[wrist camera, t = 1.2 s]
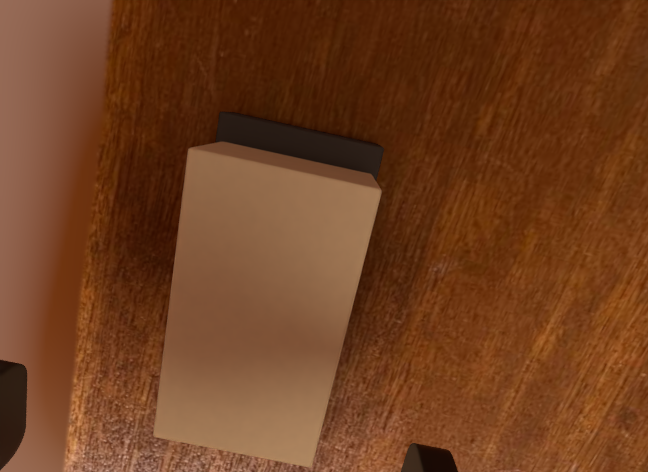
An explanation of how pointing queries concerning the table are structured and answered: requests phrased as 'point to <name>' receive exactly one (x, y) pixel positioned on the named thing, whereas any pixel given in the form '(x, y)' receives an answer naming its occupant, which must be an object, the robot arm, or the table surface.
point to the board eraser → (264, 286)
